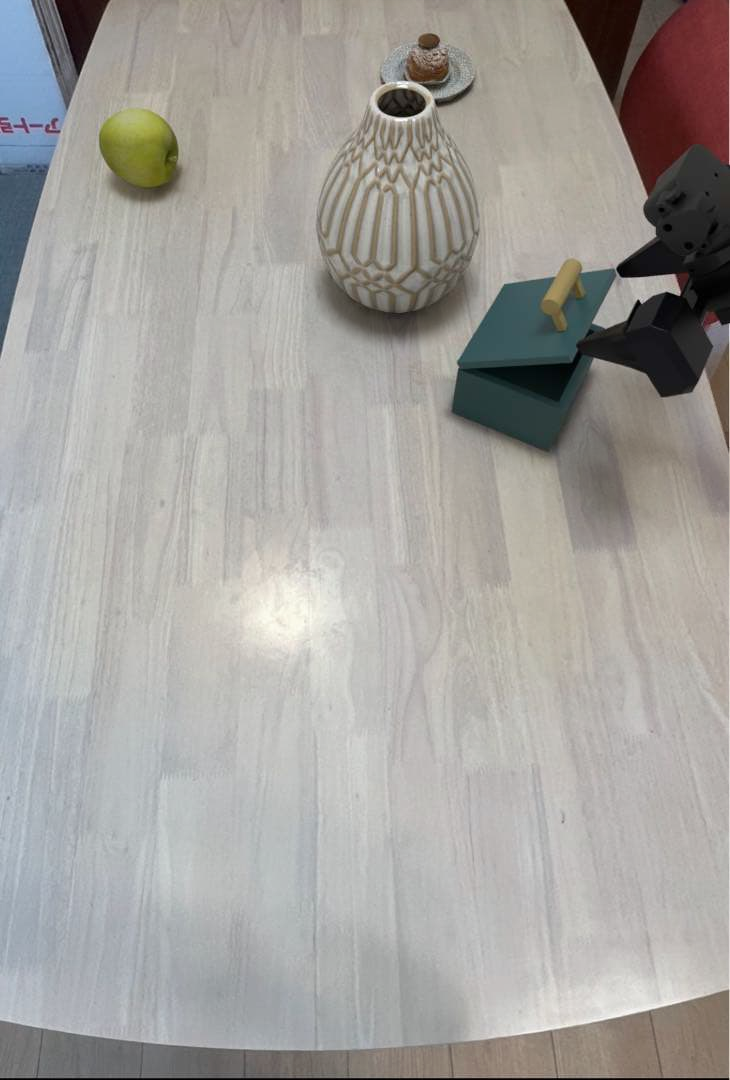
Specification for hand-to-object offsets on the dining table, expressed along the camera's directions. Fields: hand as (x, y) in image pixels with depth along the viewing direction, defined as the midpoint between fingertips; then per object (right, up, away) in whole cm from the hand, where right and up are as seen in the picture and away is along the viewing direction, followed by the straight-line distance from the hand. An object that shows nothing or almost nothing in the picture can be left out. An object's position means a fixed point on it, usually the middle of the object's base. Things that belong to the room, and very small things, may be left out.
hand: (599, 309), depth 61 cm
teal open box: (-4, -4, +13) cm, 14 cm away
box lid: (-4, 0, +5) cm, 6 cm away
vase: (-16, +9, +20) cm, 27 cm away
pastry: (-11, +40, +36) cm, 55 cm away
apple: (-44, +23, +27) cm, 57 cm away
